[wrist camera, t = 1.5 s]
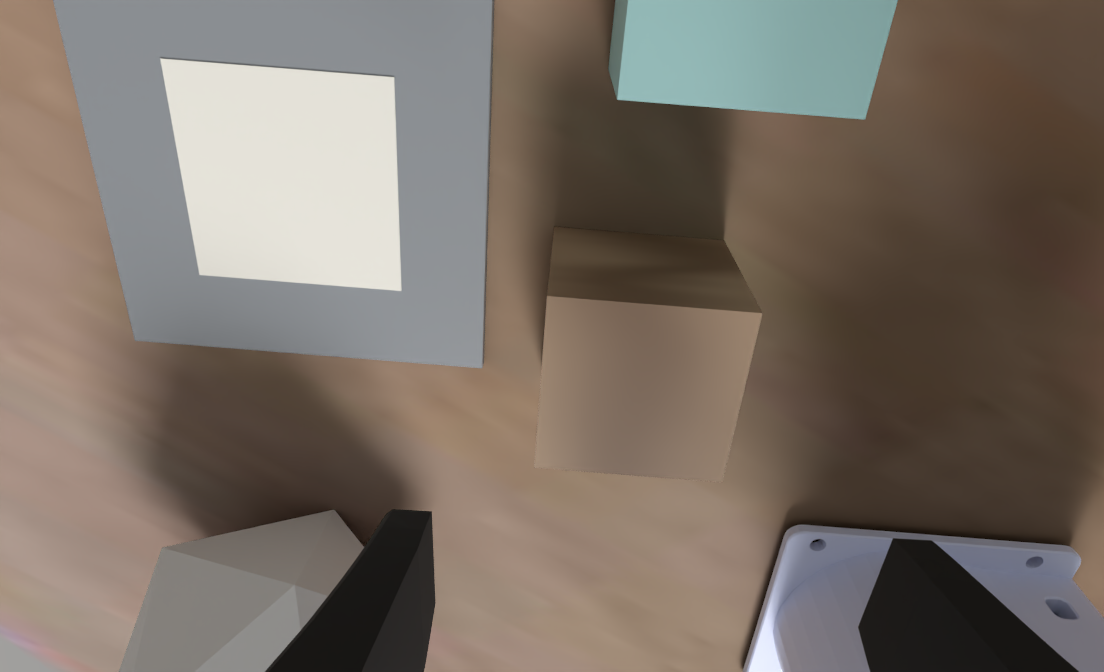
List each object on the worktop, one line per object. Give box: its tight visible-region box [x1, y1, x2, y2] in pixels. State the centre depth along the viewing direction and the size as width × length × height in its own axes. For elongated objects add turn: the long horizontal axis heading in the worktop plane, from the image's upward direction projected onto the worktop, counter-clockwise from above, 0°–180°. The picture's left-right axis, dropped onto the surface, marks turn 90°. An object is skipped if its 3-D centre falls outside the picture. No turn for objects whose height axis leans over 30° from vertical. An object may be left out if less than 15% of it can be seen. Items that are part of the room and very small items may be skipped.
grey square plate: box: [53, 0, 494, 368], centre depth 18 cm, size 10×10×1 cm
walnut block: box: [534, 227, 763, 483], centre depth 17 cm, size 4×4×4 cm
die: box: [119, 510, 364, 672], centre depth 21 cm, size 8×9×10 cm
